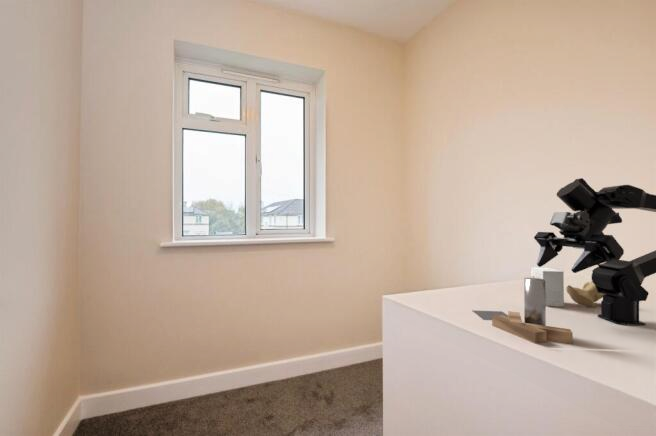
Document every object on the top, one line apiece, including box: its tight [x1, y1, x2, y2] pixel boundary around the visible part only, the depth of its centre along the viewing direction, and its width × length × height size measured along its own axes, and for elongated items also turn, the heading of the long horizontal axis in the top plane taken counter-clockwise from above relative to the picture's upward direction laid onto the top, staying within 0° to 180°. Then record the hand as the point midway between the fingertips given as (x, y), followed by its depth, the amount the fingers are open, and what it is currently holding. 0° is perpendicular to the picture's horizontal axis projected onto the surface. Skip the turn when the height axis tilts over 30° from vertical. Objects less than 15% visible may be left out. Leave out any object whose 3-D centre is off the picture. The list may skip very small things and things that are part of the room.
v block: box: [491, 310, 574, 345], centre depth 69 cm, size 9×15×2 cm, turn 17°
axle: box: [523, 277, 547, 326], centre depth 70 cm, size 4×4×12 cm
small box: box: [530, 266, 565, 308], centre depth 95 cm, size 8×6×10 cm
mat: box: [471, 309, 508, 321], centre depth 81 cm, size 8×8×1 cm
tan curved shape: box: [565, 280, 605, 308], centre depth 94 cm, size 8×7×12 cm
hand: (554, 268), depth 76 cm, fingers open, 9 cm apart
